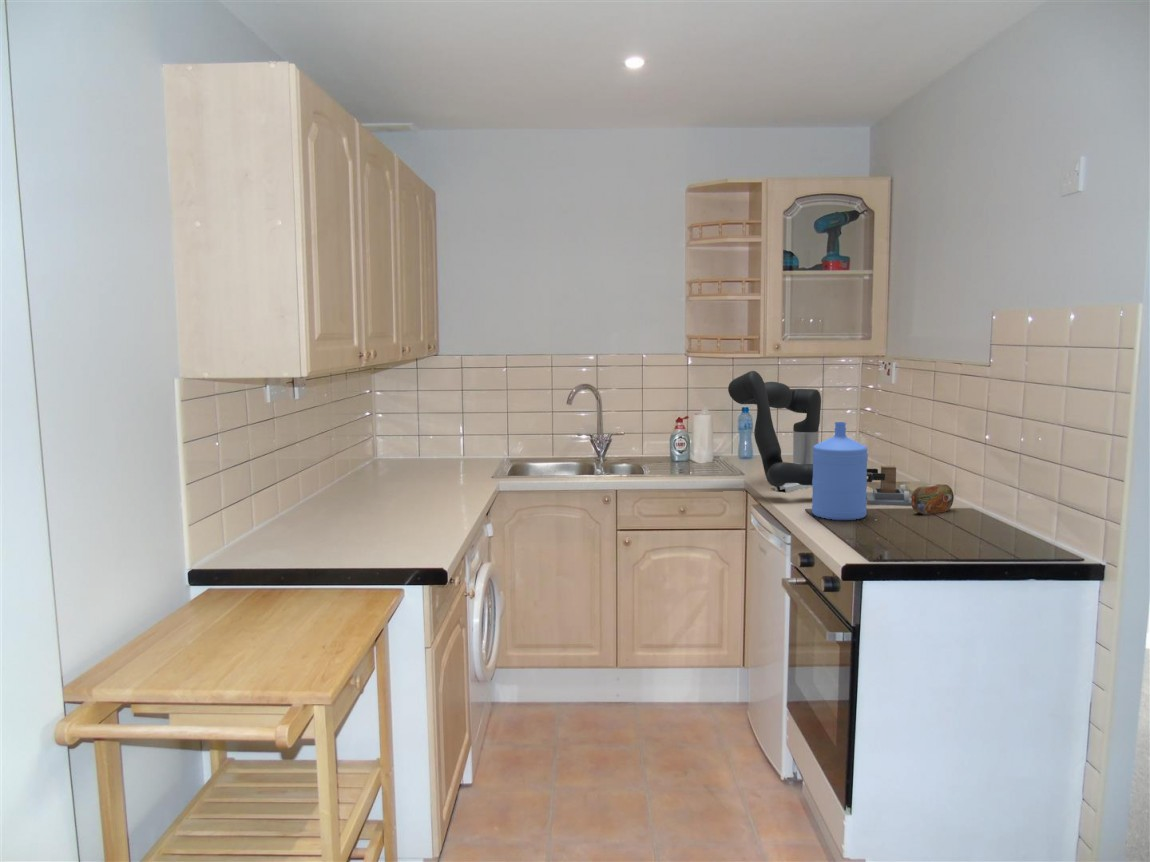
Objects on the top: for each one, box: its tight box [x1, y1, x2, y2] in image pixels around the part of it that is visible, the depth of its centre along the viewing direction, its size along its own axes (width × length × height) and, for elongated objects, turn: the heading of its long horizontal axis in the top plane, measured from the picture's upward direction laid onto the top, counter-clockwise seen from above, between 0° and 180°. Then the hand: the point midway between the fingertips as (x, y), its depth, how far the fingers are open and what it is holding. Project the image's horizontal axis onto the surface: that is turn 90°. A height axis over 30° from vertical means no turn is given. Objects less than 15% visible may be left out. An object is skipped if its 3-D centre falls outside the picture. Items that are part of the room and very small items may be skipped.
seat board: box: [866, 484, 912, 507], centre depth 261 cm, size 15×13×4 cm
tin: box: [910, 483, 955, 516], centre depth 243 cm, size 15×3×8 cm, turn 114°
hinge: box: [773, 463, 812, 493], centre depth 284 cm, size 17×5×10 cm, turn 129°
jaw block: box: [880, 465, 897, 493], centre depth 261 cm, size 4×4×10 cm
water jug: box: [811, 421, 869, 521], centre depth 240 cm, size 16×16×28 cm
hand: (881, 474), depth 261 cm, fingers open, 8 cm apart
